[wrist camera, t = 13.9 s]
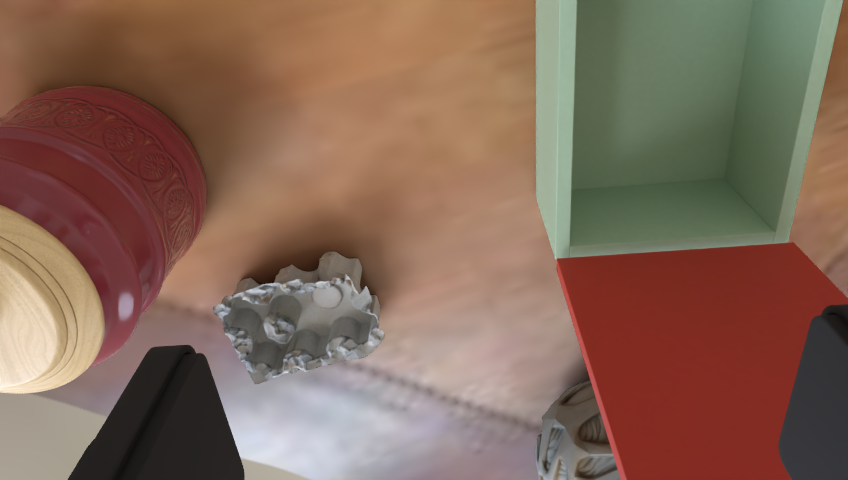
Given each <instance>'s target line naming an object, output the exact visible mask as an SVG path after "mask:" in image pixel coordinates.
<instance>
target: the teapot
mask: <svg viewBox="0 0 848 480" xmlns="http://www.w3.org/2000/svg"><path fill="white" fill-rule="evenodd" d="M542 419H543V429H542V431H541V434H540V435H538V436H537V441H536V448H535V458H536V465H537V472H538V476H539V480H621V478H620V475H619V472H618V469H617V465H616V462H615V459H614V456H613V452H612V449H611V446H610V442H609V439H608V436H607V433H606V429H605V426H604V423H603V420H602V416H601V413H600V410H599V407H598V403H597V400H596V397H595V393H594V390H593V387H592V384H591V380H590V379H589V380H587V381H584V382H581V383H579V384H577V385H575V386H574V387H572V388H570V389H568V390H566V391H565V392H564V393H563V394H562V395H561V397H560V398H559V399H557V400H556V401H555V402H554V403H553V404H552V406H551V407H550V408H549V409H548V411H547V412H546V413H545V414H544V416H543V417H542Z"/></svg>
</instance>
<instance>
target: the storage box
mask: <svg viewBox="0 0 848 480" xmlns="http://www.w3.org/2000/svg"><path fill="white" fill-rule="evenodd" d="M842 4H843V0H536V199H537V202H538V206H539V209H540V212H541V215H542V219H543V222H544V225H545V228H546V231H547V234H548V238H549V241H550V244H551V247H552V250H553V253H554V257H555V259H557V258H570V257H585V256H600V255H614V254H629V253H644V252H659V251H673V250H688V249H703V248H718V247H733V246H747V245H762V244H777V243H788V240H789V235H790V231H791V226H792V222H793V218H794V213H795V209H796V205H797V200H798V196H799V191H800V187H801V183H802V178H803V174H804V170H805V165H806V161H807V157H808V152H809V148H810V143H811V139H812V135H813V130H814V126H815V122H816V117H817V113H818V109H819V104H820V100H821V95H822V91H823V87H824V82H825V78H826V74H827V69H828V65H829V61H830V56H831V52H832V47H833V43H834V39H835V34H836V30H837V26H838V21H839V17H840V12H841V8H842Z"/></svg>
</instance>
